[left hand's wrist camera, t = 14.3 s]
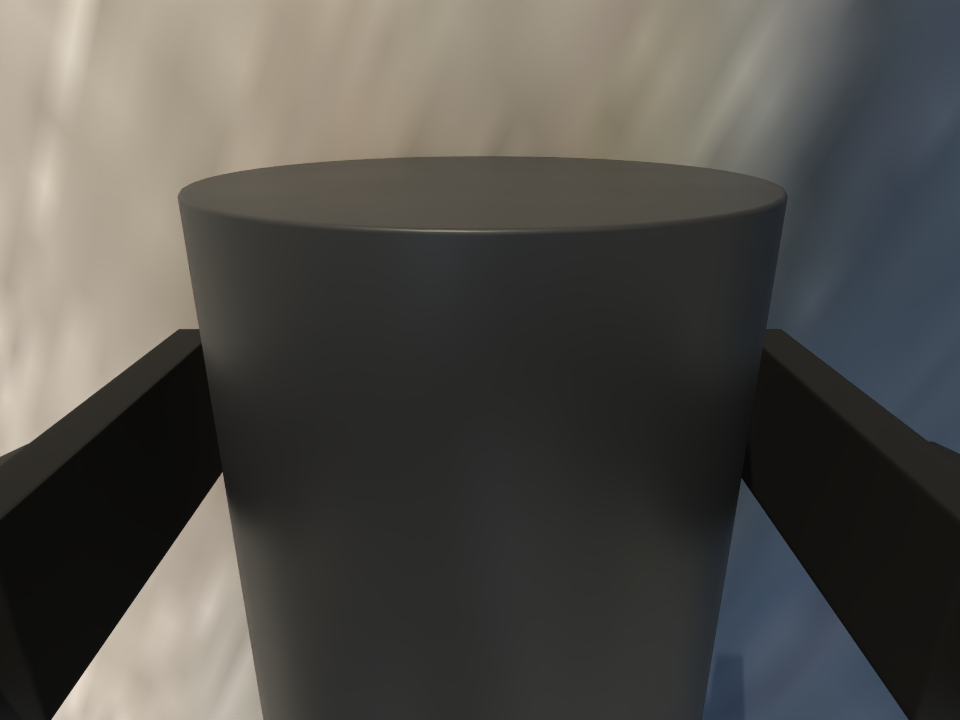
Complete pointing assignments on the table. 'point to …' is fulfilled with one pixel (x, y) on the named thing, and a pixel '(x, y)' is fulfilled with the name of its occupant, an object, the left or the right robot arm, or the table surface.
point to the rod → (482, 426)
